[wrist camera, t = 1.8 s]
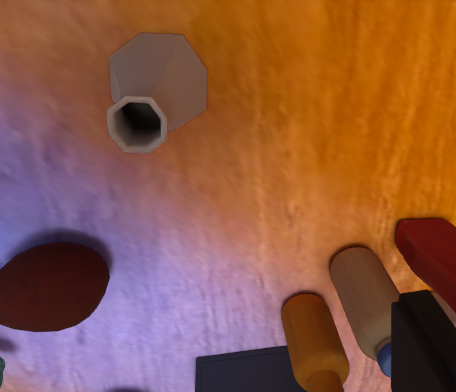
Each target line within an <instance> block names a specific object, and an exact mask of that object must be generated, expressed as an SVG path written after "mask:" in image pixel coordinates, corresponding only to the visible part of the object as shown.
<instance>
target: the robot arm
mask: <svg viewBox="0 0 456 392" xmlns="http://www.w3.org/2000/svg"><path fill="white" fill-rule="evenodd" d="M391 389H392V392H456V327H455V326H454V324H453V323H452V321H451V320H450V319H449V317H448V316H447V314H446V313H445V311H444V310H443V309H442V307H441V306H440V304H439V303H438V302H437V300H436V299H435V297H434V296H433V294H432V293H431V292H430V291H429V290H421V291H415V292H408V293H402V294H400V295H399V300H398V301H396V302H392V304H391Z"/></svg>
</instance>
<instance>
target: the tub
mask: <svg viewBox="0 0 456 392" xmlns="http://www.w3.org/2000/svg"><path fill="white" fill-rule="evenodd" d="M195 392H309V391H307V390H305V389H303V388H302V387H301V386H300V385H299V384H298V382H297V381H296V379H295V377H294V373H293V369H292V364H291V359H290V355H289V350H288V346H283V347H275V348H267V349H260V350H252V351H245V352H237V353H230V354H222V355H214V356H207V357H199V358H197V359H196V379H195Z"/></svg>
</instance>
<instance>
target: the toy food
mask: <svg viewBox="0 0 456 392" xmlns="http://www.w3.org/2000/svg"><path fill="white" fill-rule="evenodd" d="M396 246H397V248H398V250H399V251H400V253H401V254H402V255H403V257H404V259H405V261H406V263H407V264H408V266H410V269H411V270H412V271H413V272H414V273H415V274H416V275H417V276H418V277H419V278H420V279H421V280H423V281H424V282H425V283H426V284H427V285H428V286H429V287H431V288H432V289H433V290H434V291H435V292H431V293H432V294H433V296H434V297H435V299H436V300H437V302H438V303H439V304H440V306H441V307H442V309H443V310H444V311H445V313H446V314H447V316H448V317H449V319H450V320H451V321H452V323H453V324H454V326H455V327H456V227H455V226H454V225H453V224H451V223H450V222H448V221H446V220H444V219H411V220H403V221H401V222H400V223H399V225H398V228H397V235H396ZM330 275H331V279H332V281H333V284H334V286H335V289H336V291H337V294H338V296H339V299H340V301H341V304H342V306H343V309H344V311H345V313H346V316H347V318H348V321H349V323H350V326H351V328H352V331H353V333H354V336H355V338H356V341H357V343H358V345H359V347H360V349H361V351H362V352H363V353H364V354H365V355H366V356H368V357H369V358H371V359H373V360H375V361H377V362H378V364H379V366H380V369H381V371H382V372H383V373H384V374H385V375H386V376H388V377H391V304H392V302H396V301H398V300H399V295H400V293H399V291H398V290H397V288H396V286H395V285H394V283H393V281H392V279H391V278H390V276H389V274H388V273H387V271H386V269H385V268H384V266H383V264H382V263H381V261H380V259H379V258H378V257H377V255H376V254H375V253H373V252H372V251H370V250H368V249H365V248H361V247H354V248H349V249H346V250H344V251H342V252H341V253H339V254H338V255H337V256H336V257H335V258H334V260H333V262H332V264H331V268H330ZM282 323H283V327H284V332H285V337H286V341H287V346H288V350H289V355H290V359H291V364H292V369H293V373H294V377H295V379H296V381H297V382H298V384H299V385H300V386H301V387H302V388H303V389H305V390H307V391H309V392H344V389H343V386H342V385H343V384H344V383H345V381H346V380H347V377H348V375H349V361H348V358H347V356H346V353H345V350H344V348H343V345H342V342H341V339H340V337H339V334H338V331H337V329H336V326H335V323H334V320H333V318H332V315H331V312H330V310H329V307H328V305H327V304H326V302H325V301H324V300H323V299H321V298H320V297H318V296H315V295H312V294H301V295H298V296H295V297H293V298H291V299H290V300H289V301H288V302H287V303H286V304H285V305H284V307H283V309H282Z"/></svg>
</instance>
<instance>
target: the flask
mask: <svg viewBox="0 0 456 392" xmlns="http://www.w3.org/2000/svg"><path fill="white" fill-rule="evenodd" d="M109 71H110V84H111V98H112V100H113V101H114V102H115V104H113V105H112V106H111V107H109V108H108V109H107V123H108V134H109V135H110V137H111V138H112V139H113V140H114V141H115V142H116V144H117V145H118V146H119V147H120V148H121V150H122V151H123V152H124V153H143V154H149V153H150V152H152V151H153V150H154V149H156V148H157V147H159V146H160V145H162V144H163V143H165V142H166V141H167V140H168V131H176V130H177V129H178V128H180V127H181V126H183V125H184V124H186V123H187V122H189V121H190V120H192V119H193V118H195V117H196V116H198V115H199V114H200V113H202V112H203V111H205V110H206V92H207V69H206V68H205V66H204V65H203V63H202V62H201V60H200V59H199V58H198V56H197V55H196V53H195V52H194V50H193V49H192V47H191V46H190V44H189V43H188V41H187V40H186V39H185V37H184V36H183V35H179V34H159V33H139V34H138V35H137V36H136V37H134V38H133V39H132V40H130V41H129V42H128V43H126V44H125V45H124V46H122V47H121V48H120V49H119V50H117V51H116V52H115V53H113V54H112V55H111V56H109Z"/></svg>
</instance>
